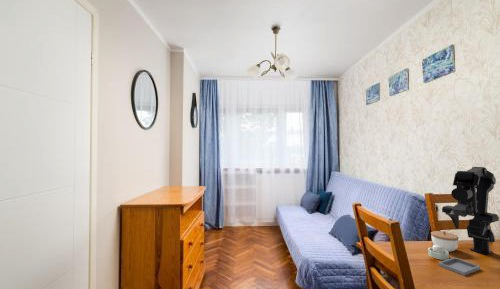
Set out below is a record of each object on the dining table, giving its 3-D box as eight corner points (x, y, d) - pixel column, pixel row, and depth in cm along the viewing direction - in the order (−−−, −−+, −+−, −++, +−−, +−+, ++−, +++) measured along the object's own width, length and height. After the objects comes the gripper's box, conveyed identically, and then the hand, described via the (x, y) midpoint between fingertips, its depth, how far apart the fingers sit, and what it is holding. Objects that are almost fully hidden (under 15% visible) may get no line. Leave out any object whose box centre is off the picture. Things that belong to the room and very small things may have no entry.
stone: (431, 254, 111) (430, 245, 111) (436, 253, 112) (435, 243, 112) (440, 258, 107) (440, 248, 107) (445, 256, 108) (445, 247, 108)
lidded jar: (464, 255, 111) (463, 235, 111) (439, 253, 113) (438, 234, 113) (450, 246, 121) (449, 228, 122) (427, 244, 124) (426, 227, 124)
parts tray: (454, 261, 105) (454, 257, 105) (480, 270, 97) (480, 266, 97) (438, 266, 100) (438, 262, 101) (464, 276, 92) (464, 272, 92)
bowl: (434, 252, 114) (434, 246, 114) (452, 258, 107) (452, 252, 107) (424, 255, 111) (424, 249, 112) (442, 262, 104) (442, 255, 105)
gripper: (434, 196, 112) (435, 228, 112) (484, 204, 95) (486, 242, 95) (448, 194, 117) (449, 225, 116) (498, 201, 99) (500, 237, 99)
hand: (469, 231), depth 106 cm, fingers open, 9 cm apart
